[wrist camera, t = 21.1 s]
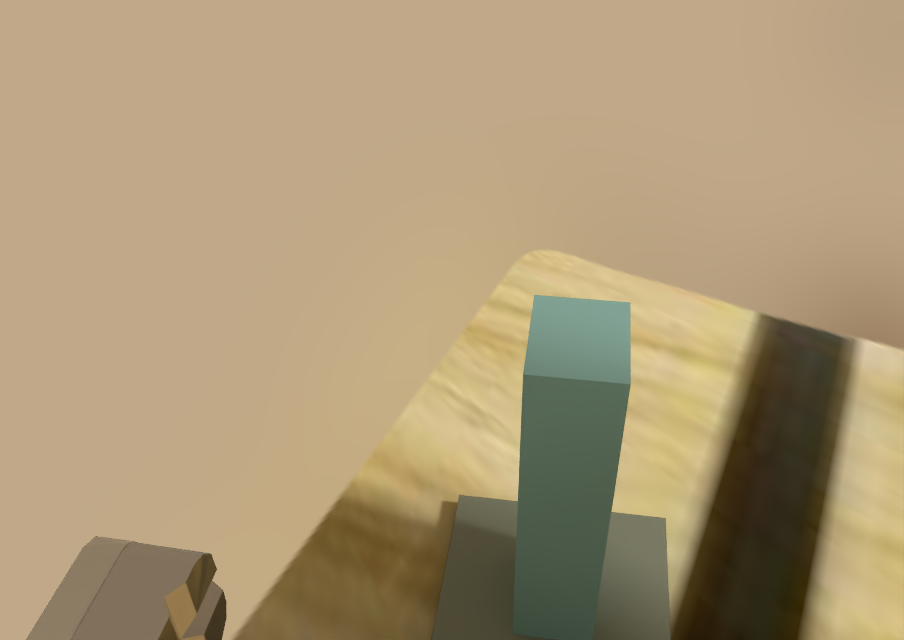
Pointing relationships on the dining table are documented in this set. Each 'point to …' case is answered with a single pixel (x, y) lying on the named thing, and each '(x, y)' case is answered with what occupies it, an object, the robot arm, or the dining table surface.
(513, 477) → the dining table surface
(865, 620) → the dining table surface
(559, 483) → the teal rectangular block
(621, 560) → the rubber mat
